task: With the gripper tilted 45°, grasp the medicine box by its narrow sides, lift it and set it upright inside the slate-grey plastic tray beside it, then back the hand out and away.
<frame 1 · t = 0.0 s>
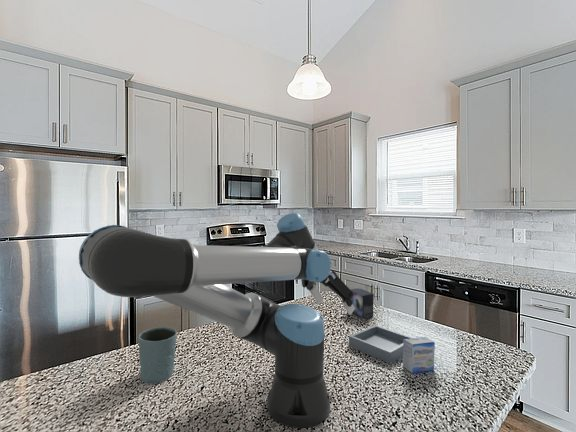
hand: (335, 306, 105), 15 cm above the countertop, tool tilted 35°, fingers open, 13 cm apart
small box: (360, 314, 143), on the countertop
medicine box: (418, 369, 96), on the countertop
grey tray: (381, 347, 109), on the countertop
teal cup: (158, 375, 90), on the countertop
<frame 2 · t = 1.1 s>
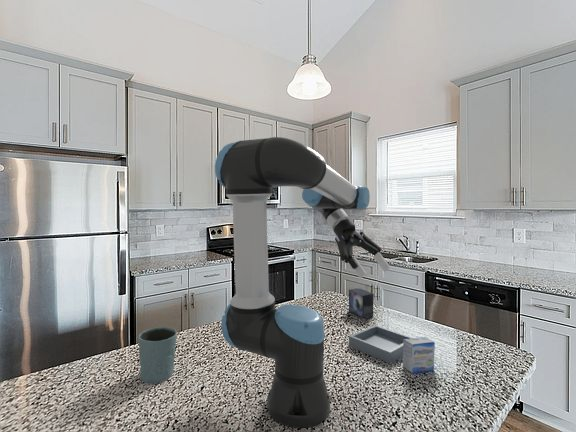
hand: (375, 272, 106), 27 cm above the countertop, tool tilted 45°, fingers open, 13 cm apart
nothing on the countertop moved.
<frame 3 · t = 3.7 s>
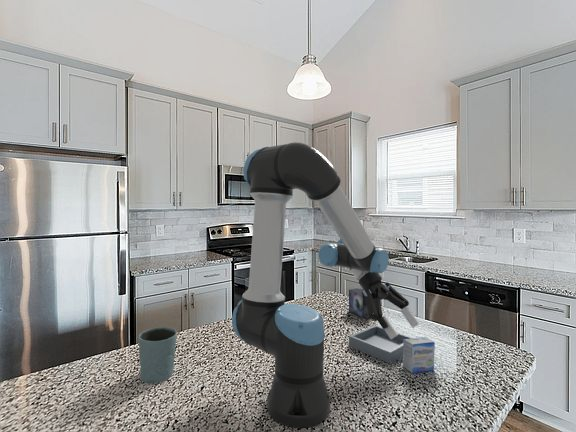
hand: (405, 331, 100), 9 cm above the countertop, tool tilted 45°, fingers open, 13 cm apart
nothing on the countertop moved.
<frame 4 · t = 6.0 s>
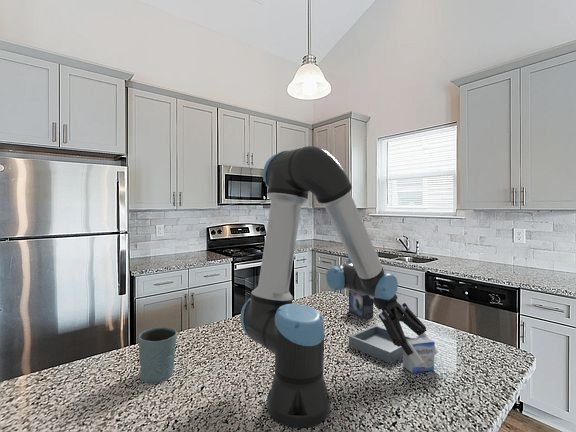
hand: (427, 359, 93), 4 cm above the countertop, tool tilted 45°, fingers closed on medicine box, 9 cm apart
medicine box: (418, 369, 96), on the countertop, touching gripper
everything else where it was.
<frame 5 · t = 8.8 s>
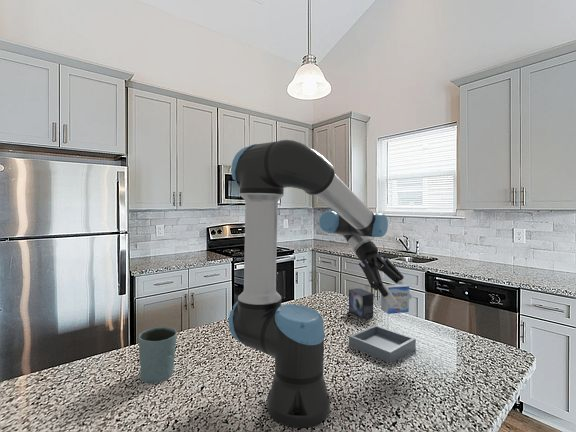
hand: (402, 301, 103), 18 cm above the countertop, tool tilted 45°, fingers closed on medicine box, 9 cm apart
medicine box: (394, 311, 105), point 14 cm above the countertop, touching gripper
everything else where it was.
when the fingers open (6 cm above the countertop, at t = 11.9 s): medicine box stays where it is, resting on grey tray.
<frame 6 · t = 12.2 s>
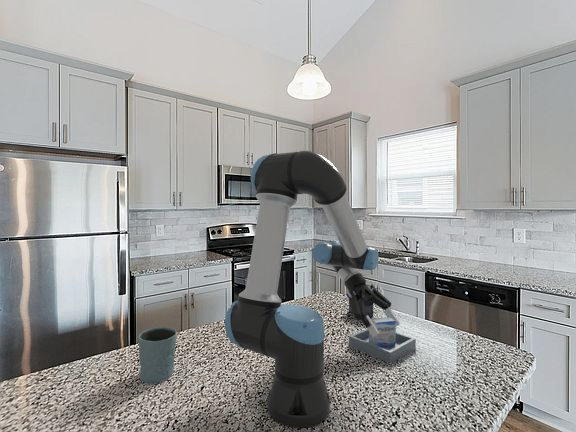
hand: (387, 330, 108), 7 cm above the countertop, tool tilted 45°, fingers open, 12 cm apart
medicine box: (381, 344, 110), point 1 cm above the countertop, touching grey tray
everything else where it was.
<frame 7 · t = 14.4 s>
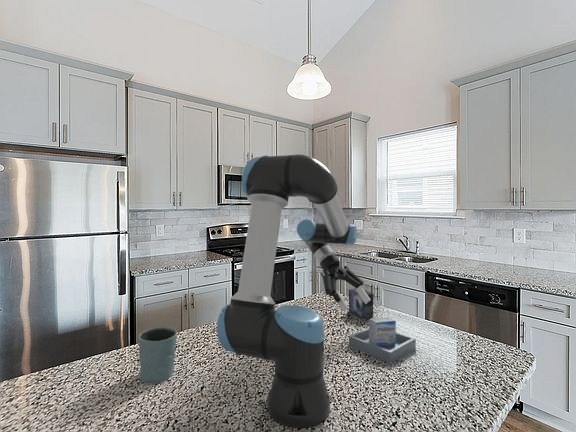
hand: (357, 305, 117), 12 cm above the countertop, tool tilted 45°, fingers open, 13 cm apart
nothing on the countertop moved.
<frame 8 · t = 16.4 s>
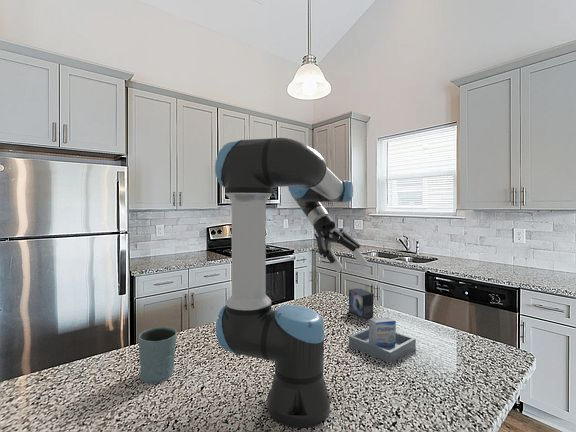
hand: (353, 267, 108), 28 cm above the countertop, tool tilted 45°, fingers open, 13 cm apart
nothing on the countertop moved.
at the end: medicine box inside the target area on the grey tray (0.1 cm from its centre), point 0.8 cm above the grey tray's base; medicine box tilted 0°; the gripper is holding nothing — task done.
